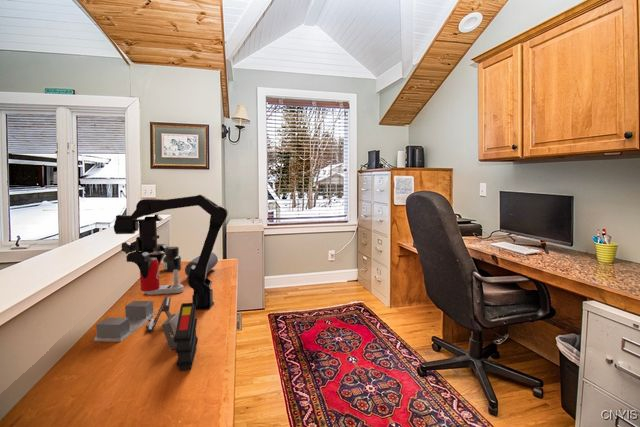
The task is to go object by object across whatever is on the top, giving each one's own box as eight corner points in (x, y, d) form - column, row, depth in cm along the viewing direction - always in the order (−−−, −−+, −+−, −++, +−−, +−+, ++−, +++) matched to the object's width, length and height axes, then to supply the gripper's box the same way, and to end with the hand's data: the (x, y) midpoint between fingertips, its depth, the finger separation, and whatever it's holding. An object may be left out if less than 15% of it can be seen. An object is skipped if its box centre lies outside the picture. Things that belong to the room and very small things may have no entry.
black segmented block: (199, 338, 99) (195, 301, 92) (194, 380, 88) (189, 342, 81) (185, 339, 98) (180, 302, 91) (178, 382, 87) (172, 343, 80)
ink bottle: (166, 267, 186) (165, 246, 185) (182, 267, 188) (182, 245, 187) (161, 272, 177) (160, 249, 175) (179, 271, 178) (178, 249, 177)
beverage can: (162, 288, 128) (161, 256, 127) (154, 293, 122) (153, 260, 121) (145, 287, 128) (144, 256, 127) (137, 293, 122) (135, 260, 120)
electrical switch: (182, 351, 95) (178, 319, 94) (164, 353, 95) (159, 321, 94) (193, 336, 105) (189, 307, 104) (176, 338, 104) (172, 309, 103)
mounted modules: (153, 311, 121) (152, 301, 120) (120, 337, 101) (119, 324, 101) (133, 311, 121) (133, 300, 120) (96, 337, 101) (96, 324, 101)
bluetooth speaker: (202, 268, 184) (201, 250, 183) (218, 269, 184) (218, 251, 183) (183, 281, 162) (183, 260, 161) (202, 281, 161) (202, 260, 160)
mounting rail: (155, 314, 121) (155, 311, 121) (121, 341, 100) (121, 338, 100) (133, 313, 121) (133, 311, 121) (94, 341, 100) (94, 338, 100)
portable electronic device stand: (149, 322, 115) (148, 298, 114) (174, 319, 117) (174, 295, 117) (146, 333, 106) (145, 307, 106) (173, 329, 109) (173, 304, 108)
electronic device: (147, 270, 146) (183, 268, 148) (148, 292, 147) (184, 289, 149) (142, 273, 141) (180, 271, 143) (144, 296, 142) (181, 293, 144)
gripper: (140, 229, 132) (141, 268, 134) (109, 237, 114) (112, 282, 115) (168, 229, 132) (169, 269, 133) (142, 237, 113) (144, 283, 115)
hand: (149, 275), depth 124 cm, fingers closed on beverage can, 6 cm apart
